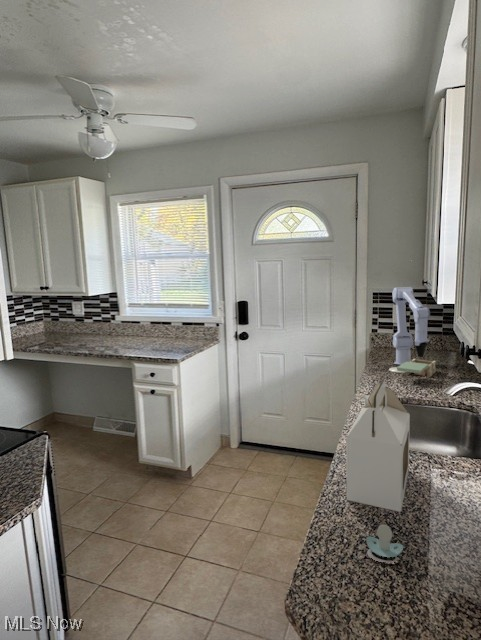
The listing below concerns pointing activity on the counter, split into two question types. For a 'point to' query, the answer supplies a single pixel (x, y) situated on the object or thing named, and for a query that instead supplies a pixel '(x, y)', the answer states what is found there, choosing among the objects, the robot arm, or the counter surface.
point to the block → (422, 373)
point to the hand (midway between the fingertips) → (420, 356)
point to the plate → (394, 369)
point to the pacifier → (383, 545)
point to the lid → (412, 367)
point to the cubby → (430, 369)
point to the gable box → (379, 451)
